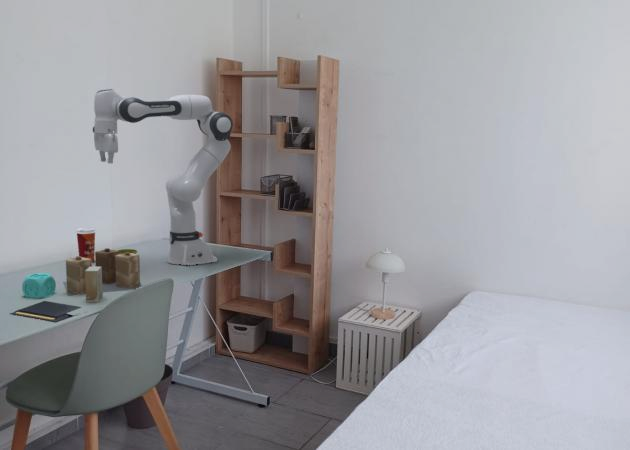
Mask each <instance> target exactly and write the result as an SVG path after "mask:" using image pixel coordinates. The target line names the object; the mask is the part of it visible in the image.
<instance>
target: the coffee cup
mask: <svg viewBox="0 0 630 450" xmlns="http://www.w3.org/2000/svg"><path fill="white" fill-rule="evenodd" d="M96 232H97V231H96V230H95V228H94V227H80V228H77V229H76V232H75V233H76V237H77V238H76V239H77V247H78V256H81V257H83V258H89V259H92V264H93V263H94V262H95V252H96V251H95V248H96V245H95V244H96V243H95V241H96Z"/></svg>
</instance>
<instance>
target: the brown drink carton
mask: <svg viewBox="0 0 630 450" xmlns="http://www.w3.org/2000/svg"><path fill="white" fill-rule="evenodd" d="M116 250H117V249H110V248H109V247H108V248H107V247H105V248H104V249H102V250H96V251H94V260H95V267H102V283H104V284H110V283H114V282H116V263H115V255H119V251H116Z"/></svg>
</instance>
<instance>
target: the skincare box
mask: <svg viewBox="0 0 630 450" xmlns="http://www.w3.org/2000/svg"><path fill="white" fill-rule="evenodd" d="M85 284H86V294H85V302H89V303H91V302H92V303H95V302H97V303H98V302H100V301H101V300H102V298H103V297H104V295H103V293H104V292H103V291H102V267H96V266H92V267H89V268H87V269H86V270H85Z"/></svg>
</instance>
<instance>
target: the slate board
mask: <svg viewBox="0 0 630 450" xmlns="http://www.w3.org/2000/svg"><path fill="white" fill-rule="evenodd" d="M62 283H63V285H64V289H65V292H66V294H67V297H72V296H73V297H74V296H82V295H86V293H83V294H80V295H79V294H74V293H70V292H67V281H63V282H62ZM141 286H143V284H142V283H141V282H140V285H138V286H135V287H132V288H129V289H127V288H123V287H118V286H116V282H114V283H110V284H104V283H102V291H103V293H112V292H122V291H123V292H124V291H132V290H137V289H136V288H139V287H141Z"/></svg>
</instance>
